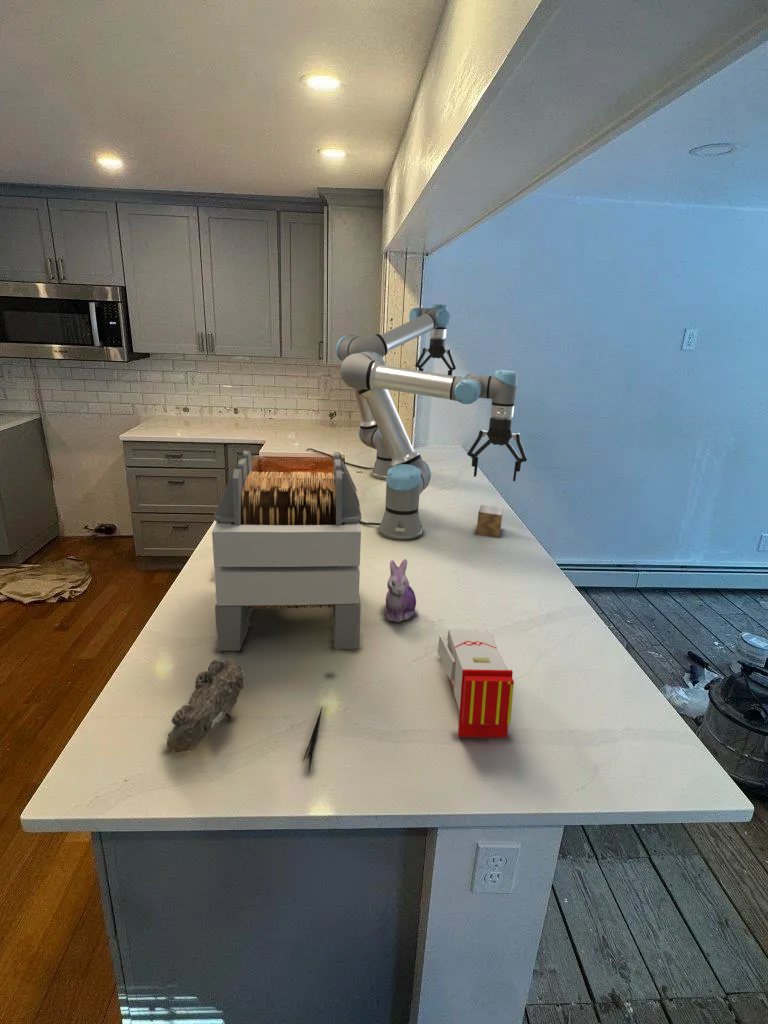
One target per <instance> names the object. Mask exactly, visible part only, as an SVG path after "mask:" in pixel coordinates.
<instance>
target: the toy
mask: <svg viewBox="0 0 768 1024" xmlns="http://www.w3.org/2000/svg"><path fill="white" fill-rule="evenodd" d="M446 640H447V643H446V641H445V639H444V636H443V635H442V634H439V637H438V646H437V656H438V657H439V659H440V661H441V663H442V666H443V668H444V670H445V672H446V674H447V677H448V679H449V681H450V684H451V687H452V690H453V693H454V697H455V701H456V705H457V708H458V711H459V714H458V715H459V716H458V730H457V731H458V732H457V737H458V738H508V731H509V726H510V725H511V717H512V707H513V697H514V696H513V695H514V684H515V680H514V679H513V673H514V671H513V670H512V669H508V667H507V665H506V662H505V661H504V659H503V658H502V655H501V653H500V651H499V649H498V647H497V643H496V639H495V637H494V635H493V634H491V632H490V631H489V629H467V628H466V629H465V628H463V629H461V628H460V629H459V628H448V630H447V639H446Z"/></svg>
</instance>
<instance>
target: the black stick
mask: <svg viewBox="0 0 768 1024" xmlns="http://www.w3.org/2000/svg"><path fill="white" fill-rule="evenodd" d="M329 675H330V676H331V675H332V674H331V673H330V674H329ZM322 710H323V707H321V708H320V710H319V713H318V716H317V719H316V723H315V725H314V728H313V731H312V733H311V737H310V739H309V742H308V745H307V748H306V751H305V754H304V757H303V760H302V763H301V767H302V765H303V763H304V761H305V758H308V759H309V760H308V762H307V763H308V764H307V766H308V771H310V770H311V766H312V765H311V764H312V760H313V757H315V756H314V755H315V751H316V749H315V746H317V739H318V733H319V729H320V722H321V717H322V712H323V711H322ZM313 754H314V755H313ZM306 755H307V757H306Z"/></svg>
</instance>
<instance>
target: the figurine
mask: <svg viewBox="0 0 768 1024" xmlns="http://www.w3.org/2000/svg"><path fill="white" fill-rule="evenodd" d="M407 567H408V559H406V558H404V559H403V560H402V561H401V563H400V565H399V566H398V565H397V563H396V562H395V561H394V560H393V559H391V560H390V561H389V570H390V576H389V578H388V579H387V589H388V591H387V592H386V594H385V595H386V596H385V607H384V615H385V616H386V620H387V621H391V622H395V623H400V622H402V621H406V620H409V619H410V618H411V617H413V616H414V615H415V610H416V606H417V597H416V593H415V591H414V590H413V587H411V586H410V582H409V579H408V577H407V574H406V571H407Z"/></svg>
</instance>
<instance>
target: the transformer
mask: <svg viewBox="0 0 768 1024" xmlns="http://www.w3.org/2000/svg"><path fill="white" fill-rule="evenodd" d="M333 457H334V458H333V472H331V471H330V472H326V473H325V472H323V471H322V472H321V471H319V472H314V473H313V472H311V471H305V472H304V471H291V472H284V471H253V467H252V466H253V465H252V464H253V463H252V452H251V450H243V452H242V454H241V456H240V457H239V460H238V462H237V464H236V466H235V468H234V469H233V471H232V474H231V476H230V478H229V479H228V482H227V484H226V486H225V489H224V492H223V493H222V496H221V498H220V500H219V502H218V505H217V507H216V508H215V511H214V514H213V515H214V521H215V525H214V527H213V529H212V531H211V536H212V537H211V538H212V554H213V555H212V556H213V567H214V568H215V567H217V568H216V570H215V569H214V582H215V583H214V585H215V601H216V603H215V607H214V609H215V610H214V611H215V612H214V613H215V628H216V635H217V647H216V649H217V651H218V652H223V653H224V652H225V651H230V652H231V651H232V652H233V651H237V652H239V651H240V650H241V648H242V645H243V643H244V640H245V638H246V635H247V632H248V631H249V630H248V629H249V620H250V619H251V617H252V613H253V610H255V609H256V610H258V609H259V610H261V609H262V610H263V609H264V610H267V609H268V610H269V609H270V610H272V609H280V610H281V609H283V610H284V609H285V610H286V609H308V608H309V609H315V608H316V609H319V608H320V609H323V608H324V609H325V608H331V609H332V616H333V641H334V643H333V645H334V649H335V650H336V649H338V650H339V649H342V650H343V649H346V650H347V649H350V650H357V649H359V647H360V645H361V644H360V643H361V611H362V610H361V609H362V608H361V607H362V604H361V598H360V579H361V575H360V574H361V570H360V565H361V546H362V545H361V543H362V530H361V523H359V521H362V511H361V505H360V500H359V496H358V492H357V491H358V490H357V487H356V485H355V483H354V481H353V478H352V476H351V474H350V472H349V470H348V468H347V464H345V463H344V462H345V461H344V459H343V457H342V454H341V452H340V451H333Z"/></svg>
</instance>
